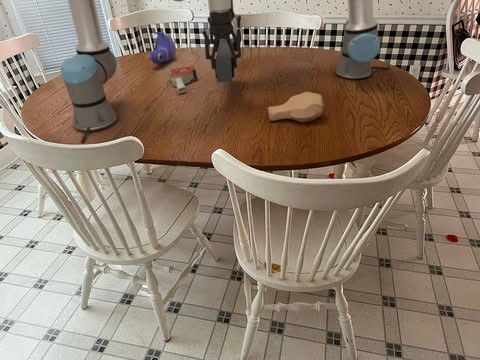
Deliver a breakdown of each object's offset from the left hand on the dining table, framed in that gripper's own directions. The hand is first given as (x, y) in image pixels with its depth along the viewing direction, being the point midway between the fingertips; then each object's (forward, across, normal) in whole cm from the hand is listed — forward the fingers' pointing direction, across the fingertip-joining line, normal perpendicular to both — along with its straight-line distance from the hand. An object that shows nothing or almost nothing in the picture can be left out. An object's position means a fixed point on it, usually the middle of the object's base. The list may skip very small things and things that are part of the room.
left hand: (225, 76), depth 134 cm
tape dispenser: (+11, +22, -23) cm, 34 cm away
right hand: (0, 0, -20) cm, 20 cm away
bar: (+1, 0, -10) cm, 10 cm away
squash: (+11, -25, +16) cm, 32 cm away
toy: (+11, +36, -54) cm, 66 cm away
